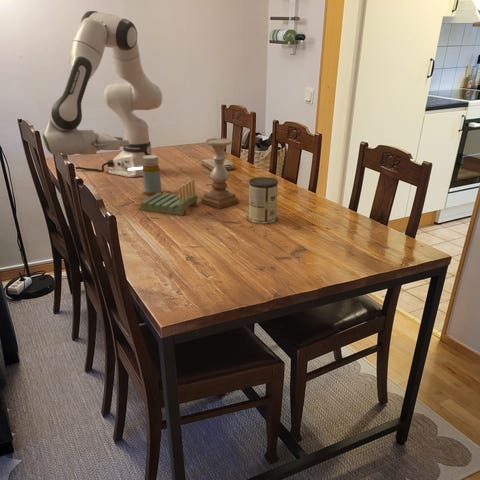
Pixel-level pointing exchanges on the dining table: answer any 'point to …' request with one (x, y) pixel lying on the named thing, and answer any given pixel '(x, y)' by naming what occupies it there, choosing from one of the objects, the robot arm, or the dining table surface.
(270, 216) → the coffee can
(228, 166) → the washcloth
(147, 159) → the bottle
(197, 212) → the dining table surface
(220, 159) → the candle holder
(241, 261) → the dining table surface
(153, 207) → the rack
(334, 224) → the dining table surface
